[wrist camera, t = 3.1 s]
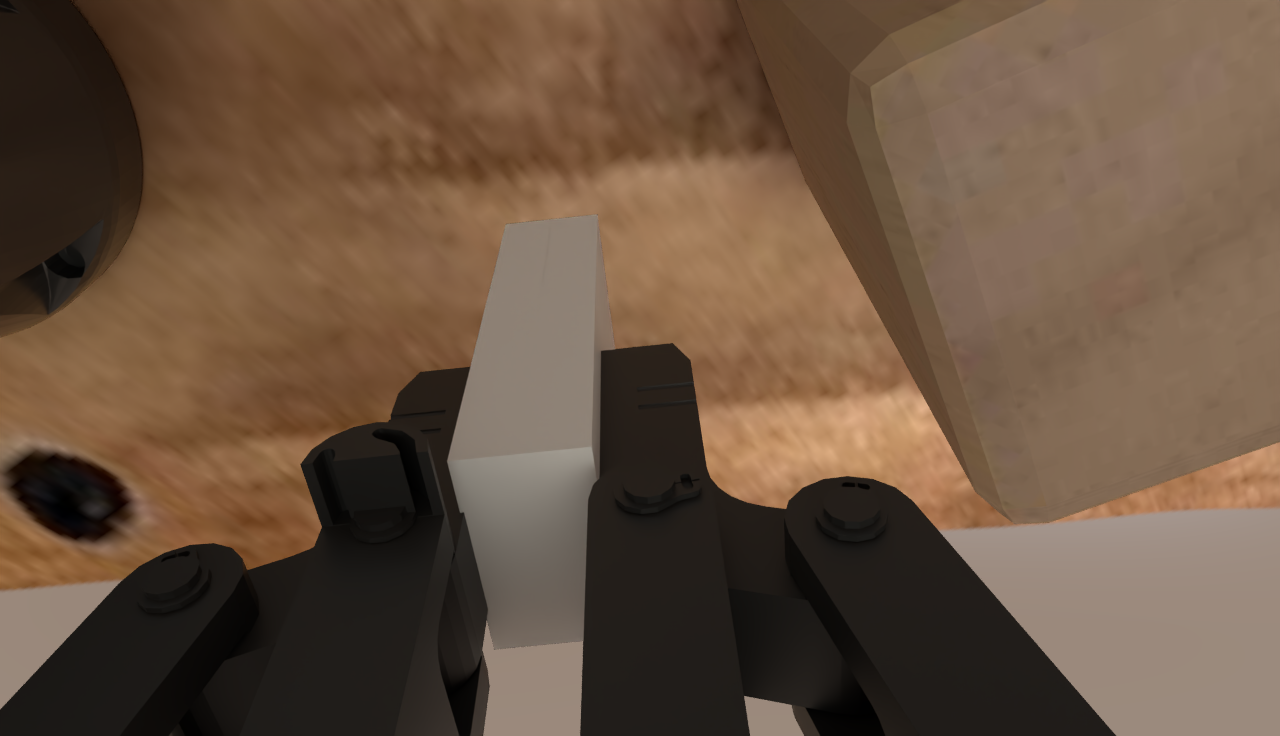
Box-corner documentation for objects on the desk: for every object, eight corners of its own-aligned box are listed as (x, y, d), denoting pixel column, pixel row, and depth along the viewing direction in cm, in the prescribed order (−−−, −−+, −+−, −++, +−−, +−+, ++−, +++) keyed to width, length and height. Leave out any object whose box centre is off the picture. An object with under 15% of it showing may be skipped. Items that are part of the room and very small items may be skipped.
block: (1076, 80, 34) (1575, 364, 16) (809, 196, 35) (1006, 561, 18) (1010, -223, 29) (1613, -272, 12) (706, -71, 31) (840, 79, 14)
